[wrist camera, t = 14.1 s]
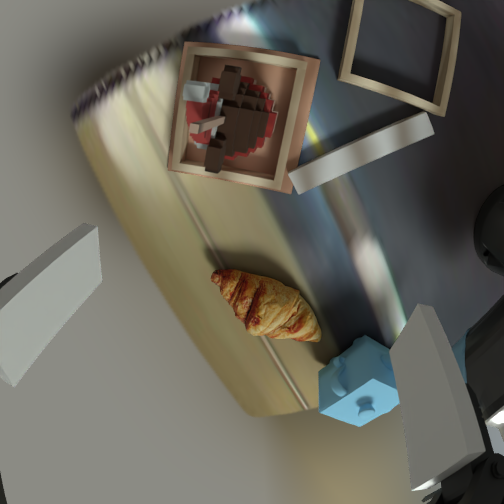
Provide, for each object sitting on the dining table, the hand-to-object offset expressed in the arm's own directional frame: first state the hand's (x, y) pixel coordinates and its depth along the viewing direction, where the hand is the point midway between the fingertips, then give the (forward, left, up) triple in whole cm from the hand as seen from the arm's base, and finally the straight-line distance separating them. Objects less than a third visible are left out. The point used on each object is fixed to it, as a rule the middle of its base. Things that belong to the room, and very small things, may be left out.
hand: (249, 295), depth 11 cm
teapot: (-24, +30, -30) cm, 49 cm away
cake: (+6, -4, -29) cm, 30 cm away
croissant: (-3, +23, -30) cm, 38 cm away
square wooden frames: (-3, -11, -30) cm, 32 cm away
